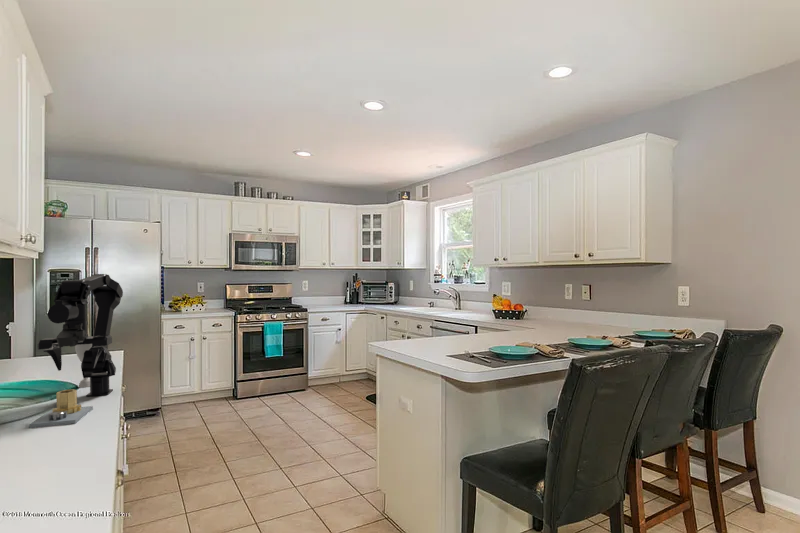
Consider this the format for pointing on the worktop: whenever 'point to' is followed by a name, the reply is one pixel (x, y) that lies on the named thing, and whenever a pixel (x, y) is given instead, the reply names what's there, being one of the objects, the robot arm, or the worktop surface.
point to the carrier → (60, 417)
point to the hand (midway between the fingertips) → (76, 369)
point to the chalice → (80, 353)
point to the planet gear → (67, 401)
